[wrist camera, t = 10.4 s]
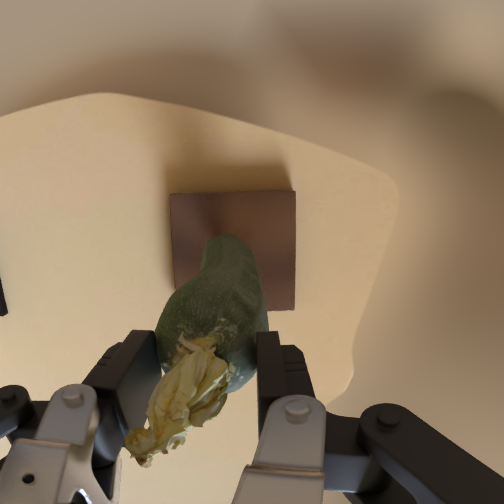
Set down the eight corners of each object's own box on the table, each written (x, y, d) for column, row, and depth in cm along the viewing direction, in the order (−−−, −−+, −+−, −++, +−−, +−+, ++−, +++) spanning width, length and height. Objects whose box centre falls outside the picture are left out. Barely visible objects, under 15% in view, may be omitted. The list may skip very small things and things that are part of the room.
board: (173, 193, 26) (169, 194, 25) (293, 190, 26) (295, 190, 25) (181, 305, 28) (177, 312, 27) (292, 304, 28) (294, 310, 27)
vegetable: (258, 227, 25) (301, 394, 5) (257, 281, 26) (283, 508, 6) (201, 227, 25) (73, 378, 5) (202, 280, 26) (120, 496, 6)
